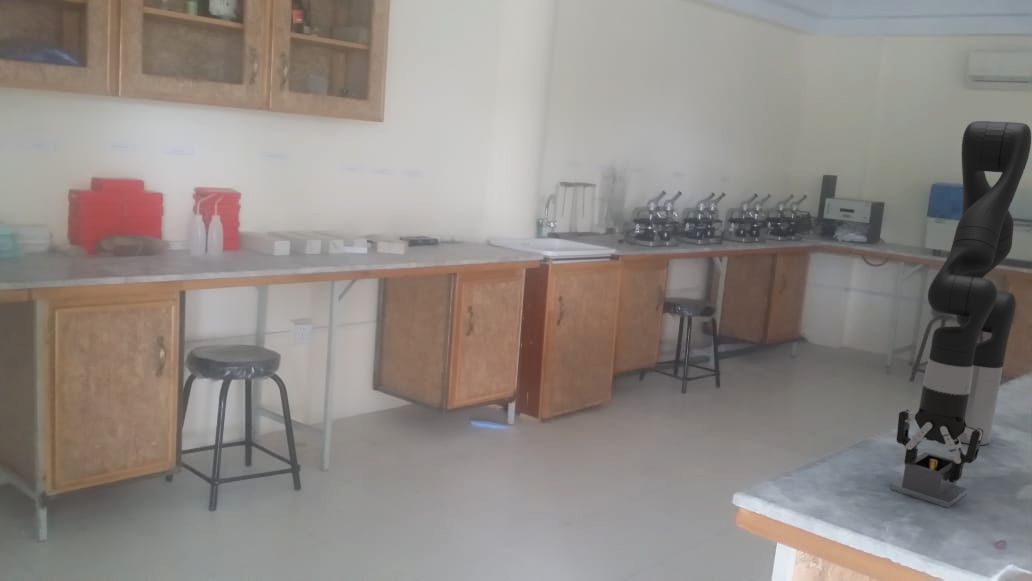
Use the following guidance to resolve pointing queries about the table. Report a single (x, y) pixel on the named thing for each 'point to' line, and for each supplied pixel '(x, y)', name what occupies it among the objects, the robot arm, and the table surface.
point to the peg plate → (944, 500)
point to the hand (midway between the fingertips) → (931, 474)
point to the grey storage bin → (928, 475)
